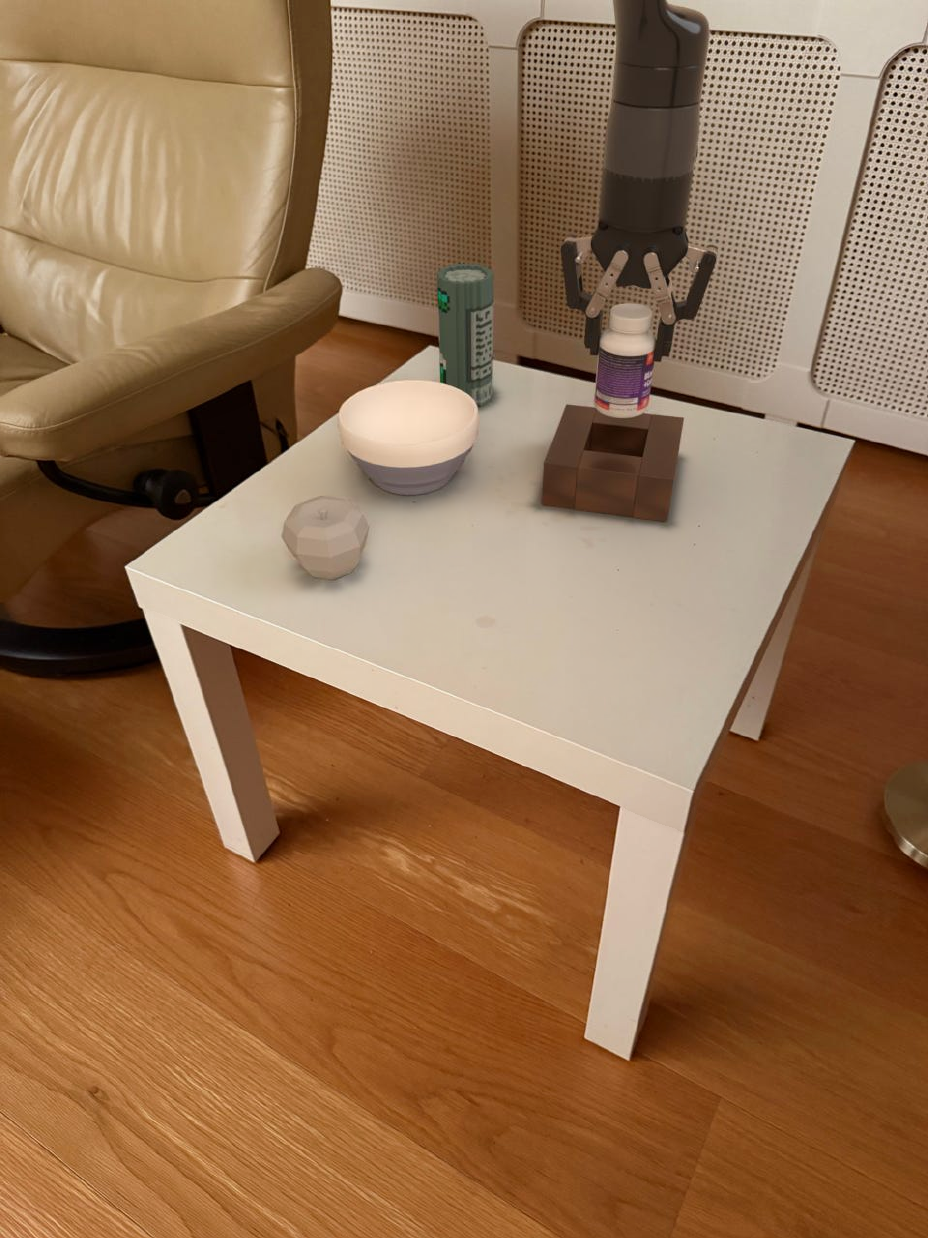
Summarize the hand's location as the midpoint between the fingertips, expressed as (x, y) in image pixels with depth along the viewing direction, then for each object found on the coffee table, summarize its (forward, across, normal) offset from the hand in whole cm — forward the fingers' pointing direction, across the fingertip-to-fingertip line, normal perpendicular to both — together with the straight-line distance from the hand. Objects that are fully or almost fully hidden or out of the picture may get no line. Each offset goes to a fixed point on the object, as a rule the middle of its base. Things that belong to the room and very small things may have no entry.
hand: (626, 354), depth 84 cm
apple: (+14, -24, -21) cm, 35 cm away
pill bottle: (+6, 0, 0) cm, 6 cm away
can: (+14, -20, +15) cm, 29 cm away
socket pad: (+14, 0, 0) cm, 14 cm away
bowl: (+14, -21, -4) cm, 26 cm away
